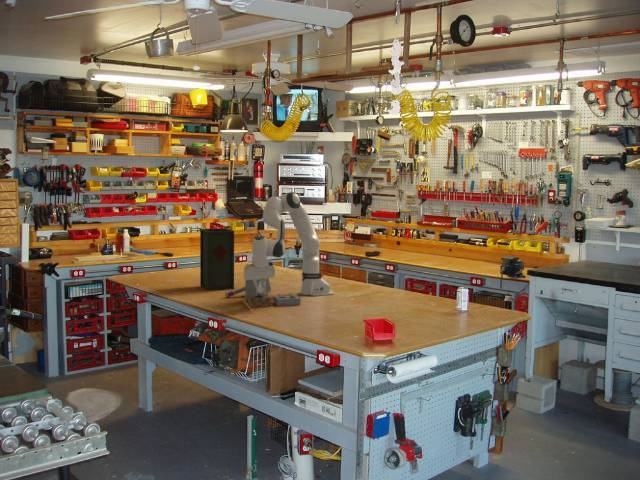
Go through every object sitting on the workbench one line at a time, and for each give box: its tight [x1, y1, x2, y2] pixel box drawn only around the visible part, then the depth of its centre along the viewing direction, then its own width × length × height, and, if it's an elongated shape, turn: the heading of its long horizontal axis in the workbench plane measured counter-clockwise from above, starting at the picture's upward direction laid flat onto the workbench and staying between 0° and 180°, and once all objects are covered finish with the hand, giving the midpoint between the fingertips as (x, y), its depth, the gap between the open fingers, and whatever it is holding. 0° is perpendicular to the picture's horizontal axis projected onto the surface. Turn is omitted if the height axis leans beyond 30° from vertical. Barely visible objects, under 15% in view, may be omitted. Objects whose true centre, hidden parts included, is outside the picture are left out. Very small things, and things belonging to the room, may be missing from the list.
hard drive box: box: [244, 279, 267, 303], centre depth 406 cm, size 16×8×20 cm, turn 162°
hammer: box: [224, 278, 272, 299], centre depth 421 cm, size 15×8×30 cm
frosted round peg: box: [256, 280, 262, 298], centre depth 389 cm, size 3×3×12 cm
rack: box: [247, 294, 272, 310], centre depth 389 cm, size 12×10×6 cm
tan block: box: [289, 291, 298, 298], centre depth 395 cm, size 3×5×6 cm, turn 16°
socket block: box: [273, 295, 301, 307], centre depth 394 cm, size 14×10×5 cm
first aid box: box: [199, 227, 235, 292], centre depth 446 cm, size 18×18×40 cm
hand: (259, 286), depth 389 cm, fingers closed on frosted round peg, 3 cm apart
